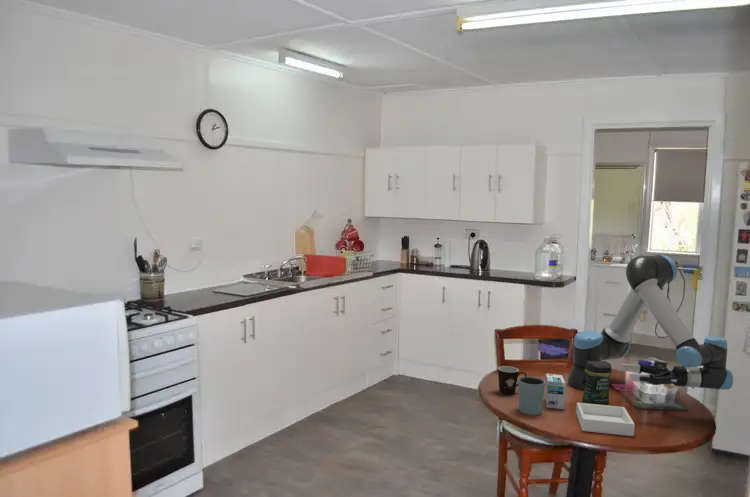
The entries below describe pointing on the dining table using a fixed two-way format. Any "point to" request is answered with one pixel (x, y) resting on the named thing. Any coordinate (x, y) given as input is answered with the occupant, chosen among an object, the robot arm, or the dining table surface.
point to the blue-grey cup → (531, 395)
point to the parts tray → (604, 419)
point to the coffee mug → (508, 379)
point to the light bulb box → (555, 391)
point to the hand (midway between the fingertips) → (625, 372)
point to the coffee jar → (597, 383)
